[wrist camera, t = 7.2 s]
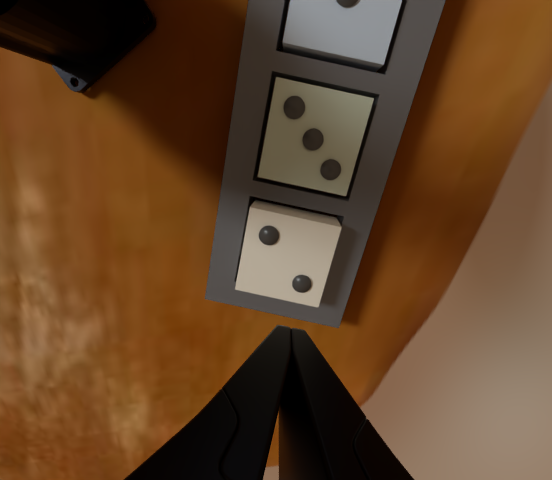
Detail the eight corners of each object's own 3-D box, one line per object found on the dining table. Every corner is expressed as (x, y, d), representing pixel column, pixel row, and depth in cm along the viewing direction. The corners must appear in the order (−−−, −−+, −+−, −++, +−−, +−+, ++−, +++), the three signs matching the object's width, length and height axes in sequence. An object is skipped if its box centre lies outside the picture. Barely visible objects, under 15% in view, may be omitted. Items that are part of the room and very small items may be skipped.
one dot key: (371, 76, 16) (384, 64, 14) (284, 57, 16) (282, 41, 14) (401, -34, 14) (422, -68, 12) (305, -55, 14) (307, -93, 12)
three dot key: (339, 190, 18) (346, 196, 16) (262, 173, 18) (257, 177, 16) (363, 105, 16) (374, 98, 14) (278, 86, 16) (276, 76, 14)
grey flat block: (334, 311, 21) (338, 328, 19) (213, 285, 21) (204, 298, 19) (455, -74, 14) (481, -110, 12) (274, -115, 14) (271, -156, 12)
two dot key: (315, 289, 19) (318, 308, 17) (241, 273, 19) (234, 290, 17) (336, 217, 17) (342, 227, 15) (255, 199, 17) (249, 207, 15)
